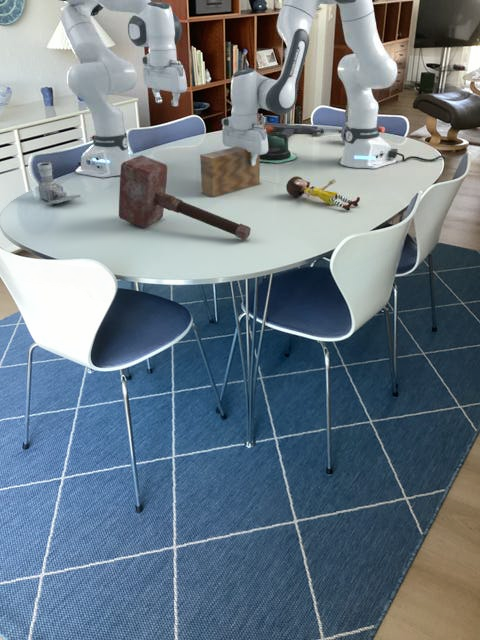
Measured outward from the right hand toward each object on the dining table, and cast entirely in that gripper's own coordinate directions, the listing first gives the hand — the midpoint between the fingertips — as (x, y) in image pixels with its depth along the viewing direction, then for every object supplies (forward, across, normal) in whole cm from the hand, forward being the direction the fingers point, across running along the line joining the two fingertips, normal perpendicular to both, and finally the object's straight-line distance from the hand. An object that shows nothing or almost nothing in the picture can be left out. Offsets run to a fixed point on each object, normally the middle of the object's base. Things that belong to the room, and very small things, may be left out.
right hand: (245, 163), depth 194 cm
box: (+8, 0, +7) cm, 10 cm away
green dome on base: (+8, +21, -33) cm, 40 cm away
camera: (+8, +30, +58) cm, 65 cm away
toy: (+8, +11, -75) cm, 76 cm away
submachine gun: (+8, +45, -65) cm, 80 cm away
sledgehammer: (+8, -21, +42) cm, 48 cm away
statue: (+8, +28, -95) cm, 100 cm away
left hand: (-19, +20, +18) cm, 33 cm away
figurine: (+8, -32, -4) cm, 33 cm away
